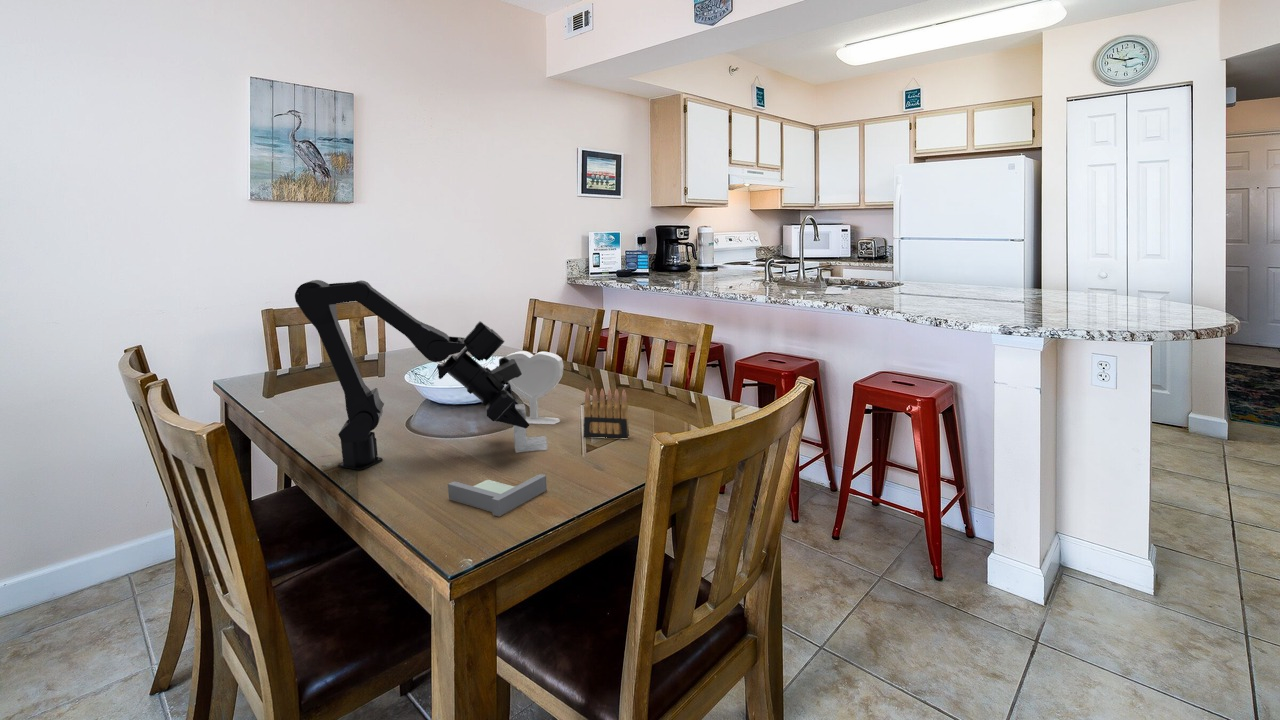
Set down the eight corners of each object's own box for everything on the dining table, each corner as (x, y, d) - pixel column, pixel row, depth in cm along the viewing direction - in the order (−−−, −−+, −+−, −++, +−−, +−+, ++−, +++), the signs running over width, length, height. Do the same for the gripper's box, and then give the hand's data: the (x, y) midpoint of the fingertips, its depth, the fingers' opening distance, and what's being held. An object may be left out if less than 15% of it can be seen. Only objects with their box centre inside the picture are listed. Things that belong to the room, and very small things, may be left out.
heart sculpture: (502, 422, 163) (498, 353, 159) (508, 416, 167) (505, 350, 164) (561, 424, 161) (559, 355, 157) (565, 418, 166) (563, 351, 162)
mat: (461, 493, 119) (461, 491, 119) (487, 480, 125) (487, 479, 125) (501, 504, 114) (501, 503, 114) (526, 491, 120) (526, 489, 120)
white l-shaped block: (515, 452, 140) (513, 409, 138) (514, 446, 144) (512, 404, 142) (547, 449, 142) (545, 407, 140) (545, 444, 146) (543, 402, 144)
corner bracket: (445, 500, 116) (444, 485, 115) (495, 477, 126) (494, 462, 126) (499, 516, 109) (498, 500, 108) (546, 490, 120) (546, 475, 119)
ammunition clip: (629, 437, 151) (628, 388, 148) (627, 439, 149) (627, 390, 147) (585, 435, 152) (584, 386, 150) (583, 437, 151) (582, 388, 148)
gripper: (500, 356, 128) (556, 405, 133) (495, 341, 146) (545, 384, 151) (462, 397, 128) (520, 444, 133) (462, 376, 145) (513, 419, 150)
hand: (525, 420), depth 142 cm, fingers open, 9 cm apart
